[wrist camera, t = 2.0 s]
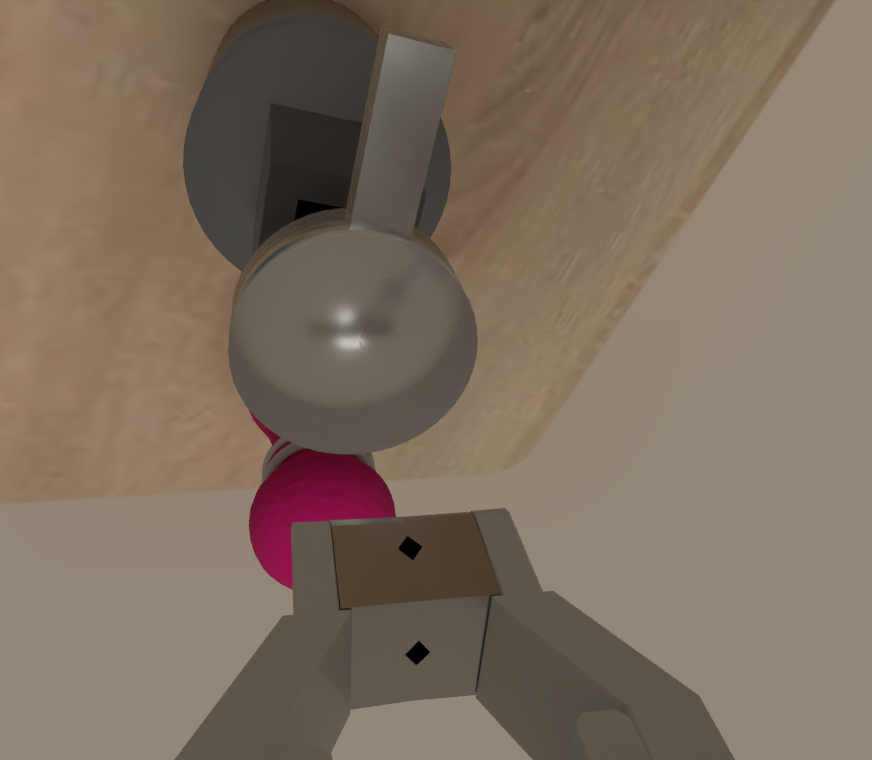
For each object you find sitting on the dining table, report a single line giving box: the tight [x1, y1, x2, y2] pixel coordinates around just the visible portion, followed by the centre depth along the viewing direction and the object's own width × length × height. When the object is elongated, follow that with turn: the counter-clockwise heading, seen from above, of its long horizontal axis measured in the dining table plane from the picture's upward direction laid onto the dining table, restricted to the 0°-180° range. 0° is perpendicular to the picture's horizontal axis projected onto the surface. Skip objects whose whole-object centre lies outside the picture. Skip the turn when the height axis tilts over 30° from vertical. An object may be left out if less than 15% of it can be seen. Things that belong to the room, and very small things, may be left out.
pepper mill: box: [249, 410, 396, 590], centre depth 36 cm, size 7×7×20 cm
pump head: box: [228, 26, 478, 454], centre depth 18 cm, size 8×5×9 cm, turn 166°
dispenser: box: [183, 0, 451, 271], centre depth 29 cm, size 9×9×21 cm
